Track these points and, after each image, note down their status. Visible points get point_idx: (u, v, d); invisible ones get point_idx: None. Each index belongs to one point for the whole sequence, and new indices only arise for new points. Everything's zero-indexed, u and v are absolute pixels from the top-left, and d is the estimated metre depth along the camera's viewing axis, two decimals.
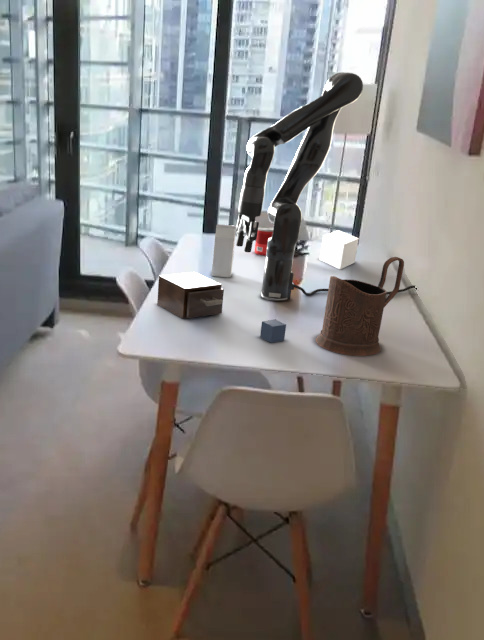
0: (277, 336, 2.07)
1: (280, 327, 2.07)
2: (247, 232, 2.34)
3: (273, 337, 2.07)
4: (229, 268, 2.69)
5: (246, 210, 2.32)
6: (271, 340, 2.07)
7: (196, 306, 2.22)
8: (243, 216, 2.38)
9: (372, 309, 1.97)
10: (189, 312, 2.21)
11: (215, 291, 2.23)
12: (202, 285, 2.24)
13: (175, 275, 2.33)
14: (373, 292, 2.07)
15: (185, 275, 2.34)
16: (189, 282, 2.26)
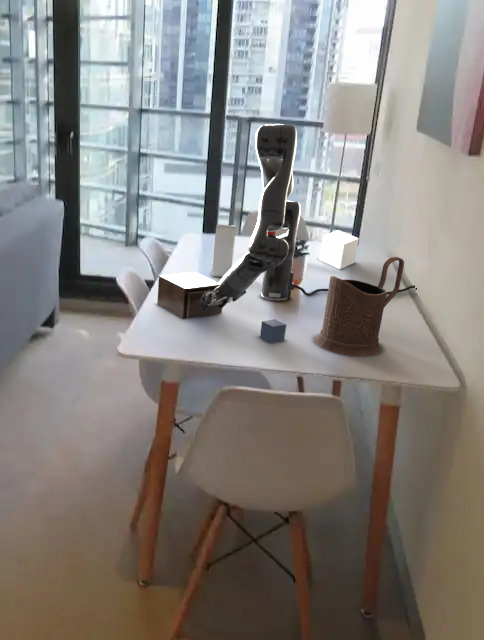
0: (277, 336, 2.07)
1: (280, 327, 2.07)
2: None
3: (273, 337, 2.07)
4: (229, 268, 2.69)
5: None
6: (271, 340, 2.07)
7: (196, 306, 2.22)
8: (224, 293, 2.10)
9: (372, 309, 1.97)
10: (189, 312, 2.21)
11: None
12: (202, 285, 2.24)
13: (175, 275, 2.33)
14: (373, 292, 2.07)
15: (185, 275, 2.34)
16: (189, 282, 2.26)
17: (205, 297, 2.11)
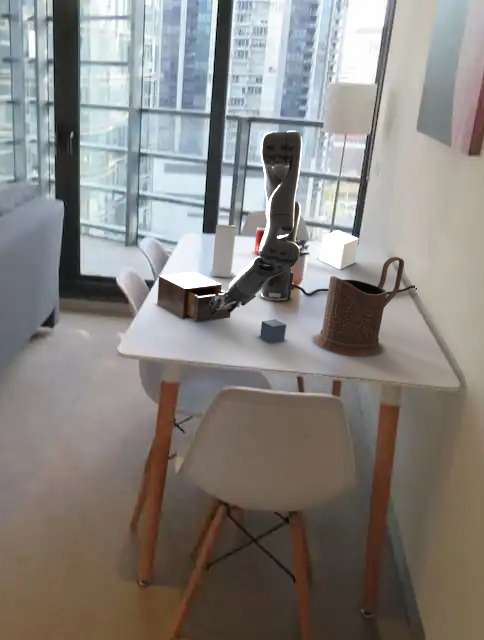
0: (277, 336, 2.07)
1: (280, 327, 2.07)
2: None
3: (273, 337, 2.07)
4: (229, 268, 2.69)
5: None
6: (271, 340, 2.07)
7: (205, 310, 2.18)
8: (233, 297, 2.07)
9: (372, 309, 1.97)
10: (197, 316, 2.18)
11: None
12: (202, 285, 2.24)
13: (175, 275, 2.33)
14: (373, 292, 2.07)
15: (185, 275, 2.34)
16: (189, 282, 2.26)
17: (214, 301, 2.08)
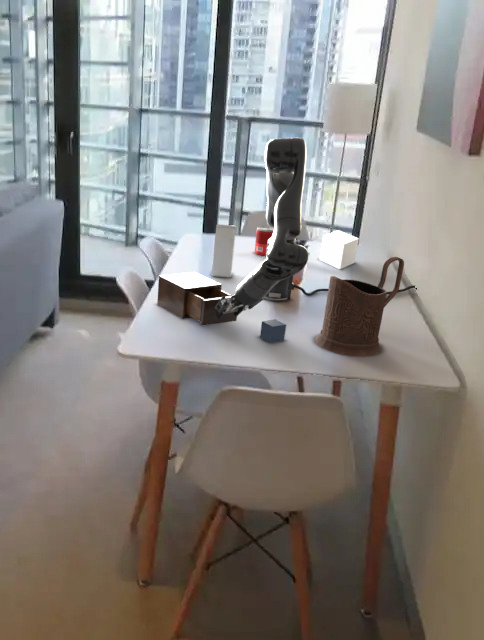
0: (277, 336, 2.07)
1: (280, 327, 2.07)
2: None
3: (273, 337, 2.07)
4: (229, 268, 2.69)
5: None
6: (271, 340, 2.07)
7: (211, 314, 2.15)
8: (240, 300, 2.04)
9: (372, 309, 1.97)
10: (203, 320, 2.15)
11: None
12: (202, 285, 2.24)
13: (175, 275, 2.33)
14: (373, 292, 2.07)
15: (185, 275, 2.34)
16: (189, 282, 2.26)
17: (220, 305, 2.05)
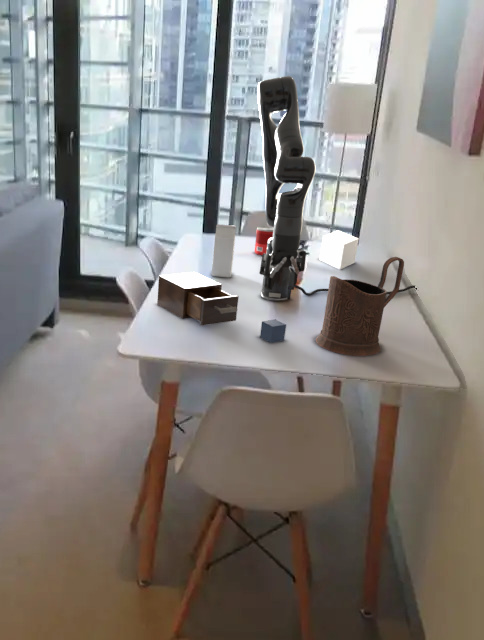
0: (277, 336, 2.07)
1: (280, 327, 2.07)
2: None
3: (273, 337, 2.07)
4: (229, 268, 2.69)
5: (299, 242, 1.98)
6: (271, 340, 2.07)
7: (210, 313, 2.16)
8: (281, 253, 1.98)
9: (372, 309, 1.97)
10: (203, 320, 2.15)
11: (229, 298, 2.17)
12: (202, 285, 2.24)
13: (175, 275, 2.33)
14: (373, 292, 2.07)
15: (185, 275, 2.34)
16: (189, 282, 2.26)
17: (264, 263, 1.98)
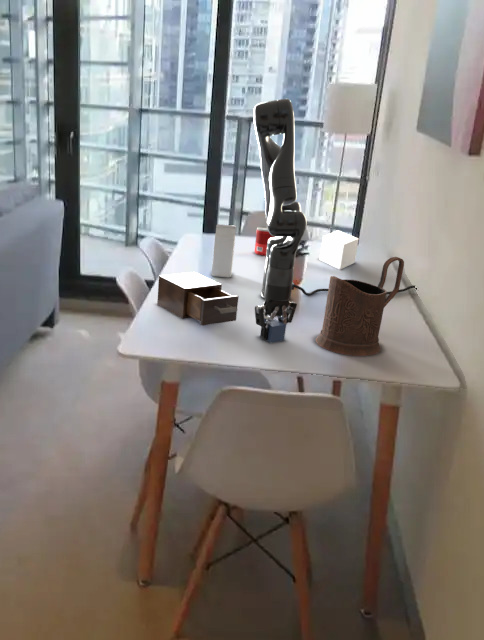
0: (277, 336, 2.07)
1: (280, 327, 2.07)
2: None
3: (273, 337, 2.07)
4: (229, 268, 2.69)
5: None
6: (271, 340, 2.07)
7: (210, 313, 2.16)
8: (273, 303, 2.04)
9: (372, 309, 1.97)
10: (203, 320, 2.15)
11: (229, 298, 2.17)
12: (202, 285, 2.24)
13: (175, 275, 2.33)
14: (373, 292, 2.07)
15: (185, 275, 2.34)
16: (189, 282, 2.26)
17: (258, 315, 2.04)
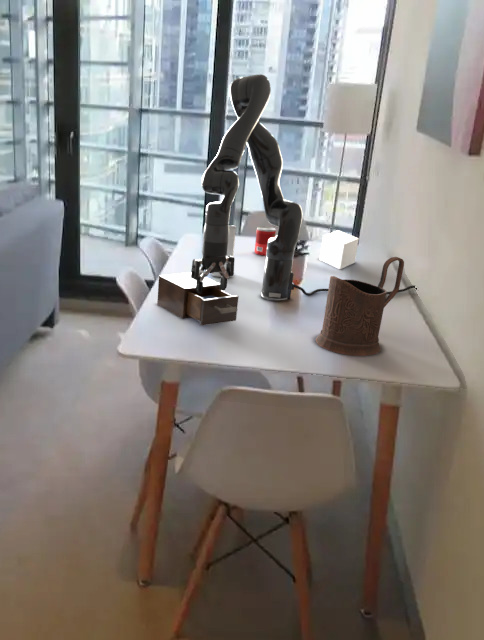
0: None
1: None
2: None
3: None
4: None
5: None
6: None
7: (210, 313, 2.16)
8: (210, 259, 2.14)
9: (372, 309, 1.97)
10: (203, 320, 2.15)
11: (229, 298, 2.17)
12: None
13: (175, 275, 2.33)
14: (373, 292, 2.07)
15: (185, 275, 2.34)
16: (189, 282, 2.26)
17: (194, 268, 2.14)
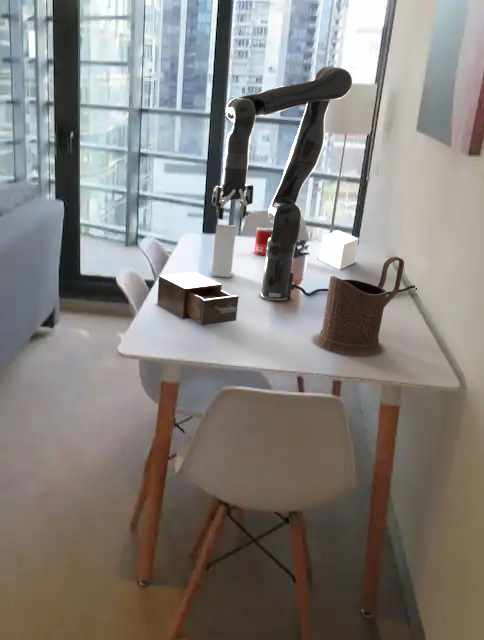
0: None
1: None
2: None
3: None
4: (229, 268, 2.69)
5: (246, 176, 2.25)
6: None
7: (210, 313, 2.16)
8: (230, 186, 2.25)
9: (372, 309, 1.97)
10: (203, 320, 2.15)
11: (229, 298, 2.17)
12: (202, 285, 2.24)
13: (175, 275, 2.33)
14: (373, 292, 2.07)
15: (185, 275, 2.34)
16: (189, 282, 2.26)
17: (215, 194, 2.24)
